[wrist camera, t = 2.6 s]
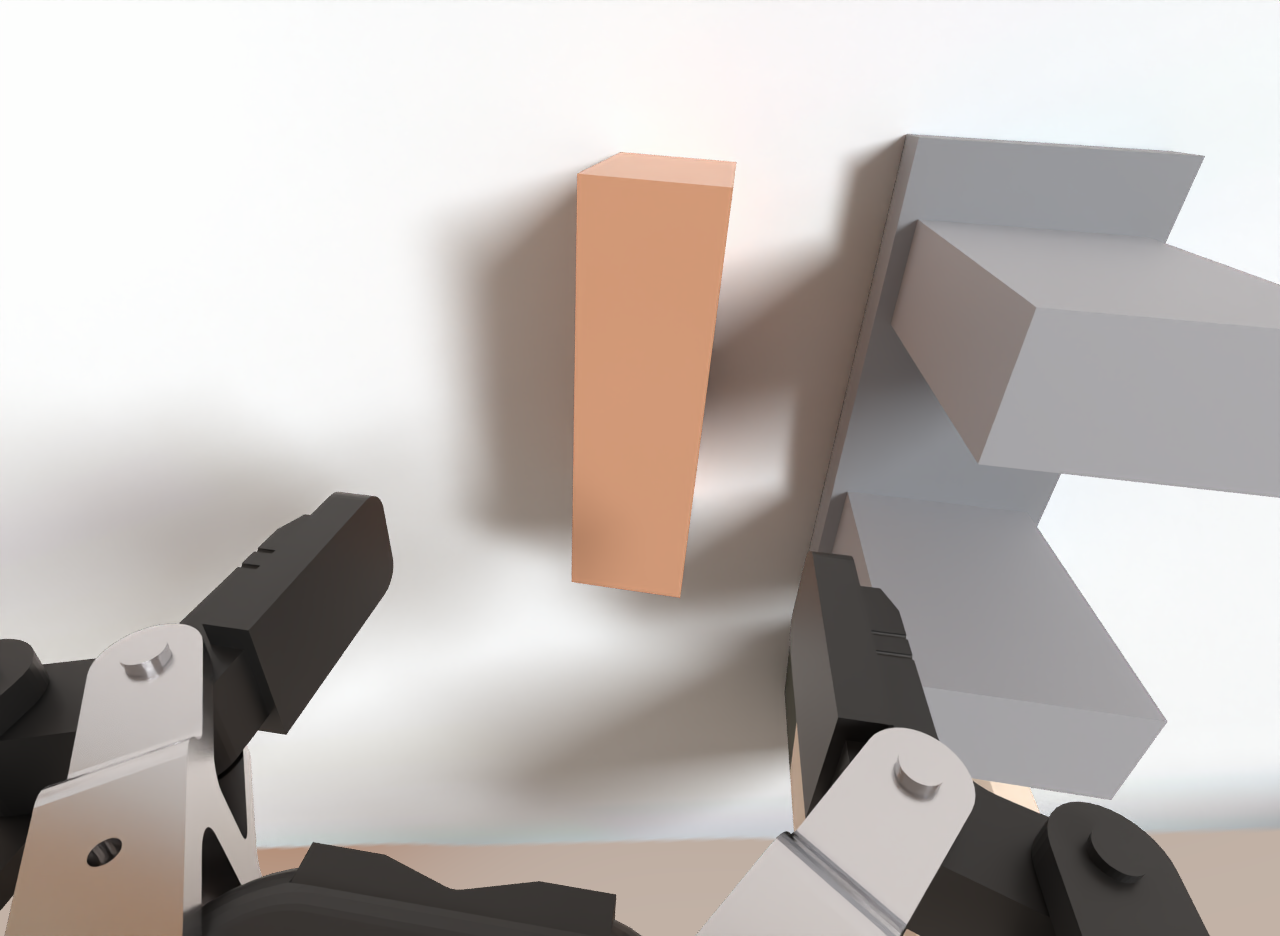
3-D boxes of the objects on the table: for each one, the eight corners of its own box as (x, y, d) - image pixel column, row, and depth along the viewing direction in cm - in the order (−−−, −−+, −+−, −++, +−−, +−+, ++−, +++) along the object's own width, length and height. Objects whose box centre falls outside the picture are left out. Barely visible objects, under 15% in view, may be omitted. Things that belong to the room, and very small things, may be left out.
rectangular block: (736, 161, 19) (733, 187, 14) (693, 495, 25) (679, 597, 20) (621, 152, 20) (577, 173, 14) (606, 483, 26) (571, 581, 21)
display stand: (1171, 151, 17) (1577, 208, 9) (981, 595, 26) (1098, 847, 17) (906, 134, 18) (1050, 172, 10) (803, 572, 26) (831, 804, 18)
